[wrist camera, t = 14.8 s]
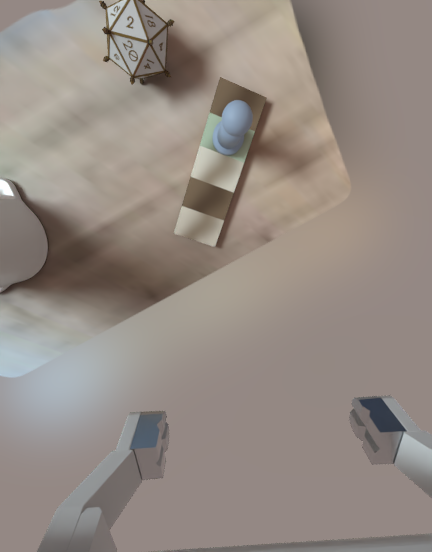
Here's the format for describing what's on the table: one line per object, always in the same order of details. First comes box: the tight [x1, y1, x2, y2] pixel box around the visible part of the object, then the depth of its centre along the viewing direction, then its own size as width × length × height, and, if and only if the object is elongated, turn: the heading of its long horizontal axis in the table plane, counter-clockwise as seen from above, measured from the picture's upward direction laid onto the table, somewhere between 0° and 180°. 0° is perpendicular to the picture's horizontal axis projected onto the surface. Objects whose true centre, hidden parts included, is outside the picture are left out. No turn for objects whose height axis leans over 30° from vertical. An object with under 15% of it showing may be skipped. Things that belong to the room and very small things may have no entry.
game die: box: [99, 0, 174, 84], centre depth 30 cm, size 9×8×10 cm
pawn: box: [212, 100, 253, 156], centre depth 31 cm, size 4×4×11 cm
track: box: [174, 77, 266, 247], centre depth 38 cm, size 7×22×1 cm, turn 161°
